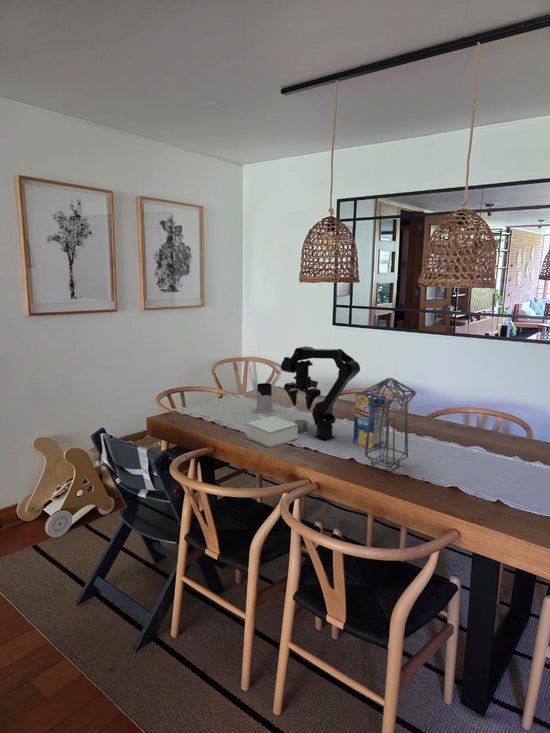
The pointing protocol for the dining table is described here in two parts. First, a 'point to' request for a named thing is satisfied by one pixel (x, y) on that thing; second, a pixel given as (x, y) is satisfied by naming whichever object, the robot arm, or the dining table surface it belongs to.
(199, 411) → the dining table surface
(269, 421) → the lid
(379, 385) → the geometric lantern
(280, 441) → the box
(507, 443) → the dining table surface
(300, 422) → the gray rounded pebble
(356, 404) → the beverage box
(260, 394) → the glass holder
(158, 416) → the dining table surface
